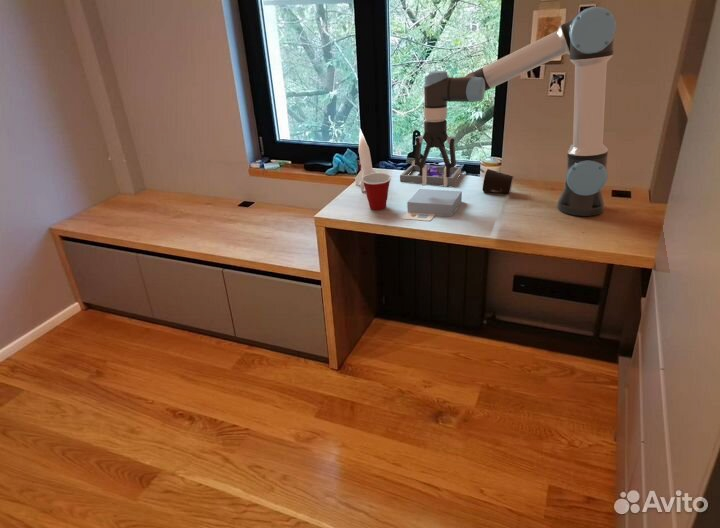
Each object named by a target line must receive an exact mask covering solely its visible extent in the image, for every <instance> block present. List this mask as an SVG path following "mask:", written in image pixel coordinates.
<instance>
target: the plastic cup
mask: <svg viewBox="0 0 720 528" xmlns="http://www.w3.org/2000/svg"><path fill="white" fill-rule="evenodd" d="M391 180H392V175H391V174H389V173H387V172H386V173H384V172H376V173H372V174H368V175H365V176H363V177H362V181H363V183H364V189H365V193H366V197H367V201H368V205H369V208H370V210H373V211H383V210H385V209H386V207H387V201H388V195H389V188H390V182H391Z"/></svg>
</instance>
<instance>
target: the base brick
mask: <svg viewBox="0 0 720 528" xmlns="http://www.w3.org/2000/svg"><path fill="white" fill-rule="evenodd" d="M462 193H463V192H462V190H446V189H445V190H444V189H431V188H430V189H429V188H427V189H426V188H418V189H417V191H416V192H415V193H414V194H413V195H412V197H411V198H409V200H407V206H406V208H407V212H411V213H424V214H435V216H445V217H453V215H454V214H455V213H456V211H457V210H458V208H459V206H460V205H461V203H462Z"/></svg>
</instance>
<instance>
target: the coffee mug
mask: <svg viewBox="0 0 720 528" xmlns="http://www.w3.org/2000/svg"><path fill="white" fill-rule="evenodd" d="M513 184H514V176H513V175H510V174H506V173H502V172H500V171H496V170H493V169H489V168H486V171H485V174H484V178H483V183H482V192H487V193H488V192H490V193H503V194H505V193H506V194H510V193H511V191H512V187H513Z"/></svg>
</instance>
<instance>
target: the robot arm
mask: <svg viewBox="0 0 720 528" xmlns="http://www.w3.org/2000/svg"><path fill="white" fill-rule="evenodd" d="M616 31H617V21H616V19H615V15H614V14H613V12H611V11H610V10H609V9H607V8H605V7H602V6H599V5H597V6H591V7H587V8H585V9H583V10H582V11H579V13H578V14H577V15H576V16H574V17H572V18H571V19H570V20H568V21H567V22H564V23H562V24H561V25H559V26H558V29H557V30H556V31H553V32H552V33H549V34H548V35H545V36H543V37H542V38H539V39H538V40H535V41H533V42H532V43H530V44H527V45H525V46H522V48H519V49H517V50H515V51H513V52H511V53H509V54H507V55H504V56H503V57H501V58H499V59H497V60H495V61H493V62H491V63H489V64H487V65H484V66H483V67H481V68H479V69H476V70H475V71H471V72H469V73H468V74H466V75H465V76H463V77H449V75H448V72H447V71H445V70H433V71H428V72H426V73H425V75H424V85H423V88H424V89H423V90H424V96H423V98H424V109H423V111H424V115H423V119H424V126H423V127H424V128H423V129H424V133H423V135H421V136H419V135H418V136H417V137H416V138H415V143H416V147H415V155H414V163H413V165H416V166H419V167H420V176H422V186H423V187H425V186H426V185H427V184H426V173H427V166H424V165H425V164H426V162H427V159H428V156H429V153H430V152H431V149H433V148H437V149H438V150H439V151H440V154H441V157H442V159H443V160H442V161H443V163H444V166H446V167H445V168H444V173H443V174H444V186H443V188H447V187H448V186H447V178H448V177H450V172H451V167H456V165H457V160H456V149H455V146H456V145H455V142H456V137H455V136H453V137H451V136H448V133H447V130H448V129H447V128H448V127H447V125H448V122H447V120H446V119H447V118H448V102H453V103H454V102H455V103H456V102H457V103H458V102H462V103H463V102H465V103H475V102H482V101H484V99H485V98H484V97H485V93H486V91H488V90H491V89H492V88H495V87H498V86H499V85H501V84H504V83H505V82H507V81H511V80H513V79H514V78H516V77H519V76H520V75H523V74H524V73H525V74H526V73H527V72H529V71H532V70H533V69H535V68H537V67H540V66H542V65H544V64H547V63H548V62H551V61H552V60H553V61H554V60H555V59H558V58H559V57H562V56H564V55H566V54H567V55H569V61H570V62H571V63H572V64H573V65H574V92H573V96H574V97H573V123H572V124H573V127H572V128H573V129H572V144H570V146H569V149H568V150H567V158H566V163H567V164H566V175H565V184H564V188H563V191H562V192H561V194H560V197H559V199H558V201H557V209H558V211H560V212H562V213H563V214H564V213H565V214H568V215H571V216H582V217H585V216H586V217H588V216H596V215H600V214H602V213H603V212H604V208H605V202H604V196H603V193H602V189H603V188H604V187H605V185H606V183H607V181H608V179H609V178H608V177H609V176H608V175H609V174H608V154H609V153H608V152H609V149H608V147H607V146H606V145H605V144H604V142H603V141H604V130H605V129H604V126H605V106H606V85H607V84H606V83H607V71H608V70H607V66H608V65H607V64H608V62H609V61H610V59H611V58H613V56H614V45H615V34H616ZM446 141H447V143H448V144H449V146H448V147H449V156H448V153H447V150H446V146H445V143H446ZM423 142H425V143H426V146H425V149H424V152H423V155H422V158H421V154H422V153H421V152H422V144H423ZM449 157H450V158H449Z"/></svg>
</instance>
